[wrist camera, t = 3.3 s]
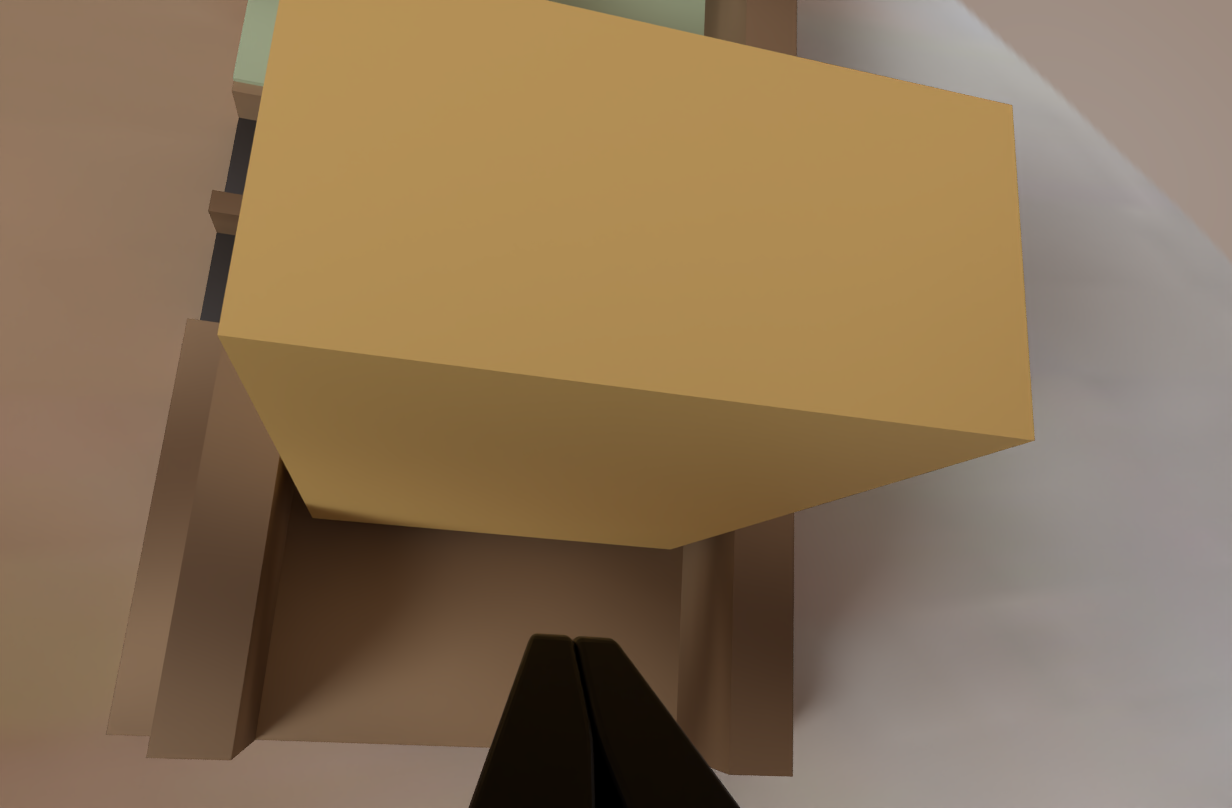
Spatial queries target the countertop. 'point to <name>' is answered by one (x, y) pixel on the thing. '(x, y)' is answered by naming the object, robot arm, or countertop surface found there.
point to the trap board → (419, 562)
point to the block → (614, 274)
